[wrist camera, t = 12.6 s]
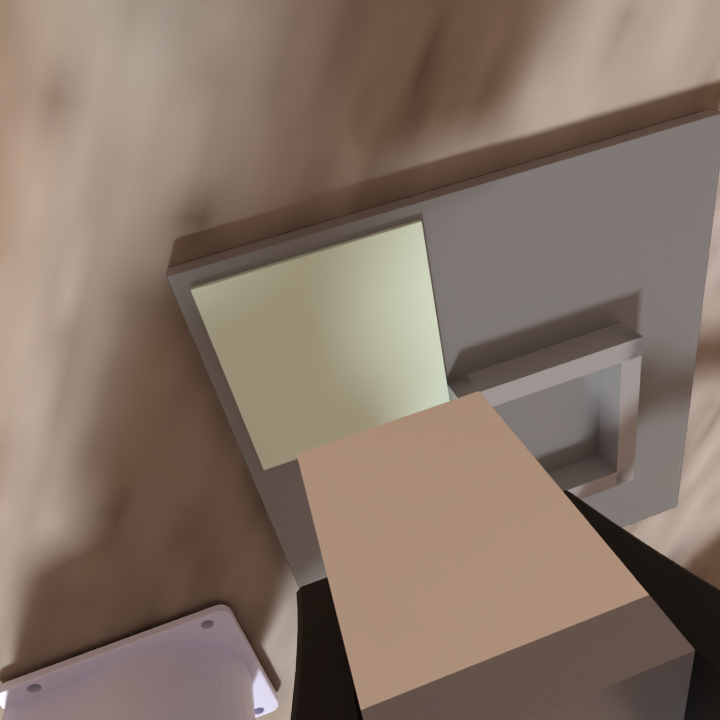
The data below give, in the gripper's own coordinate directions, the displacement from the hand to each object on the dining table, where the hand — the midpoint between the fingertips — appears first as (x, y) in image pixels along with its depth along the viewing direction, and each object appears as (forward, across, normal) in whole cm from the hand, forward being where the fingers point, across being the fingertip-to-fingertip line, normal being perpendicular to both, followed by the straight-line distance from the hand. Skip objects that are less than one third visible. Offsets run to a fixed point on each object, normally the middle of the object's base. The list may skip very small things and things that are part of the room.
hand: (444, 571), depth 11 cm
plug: (+2, 0, 0) cm, 2 cm away
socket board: (+10, -5, +5) cm, 12 cm away
